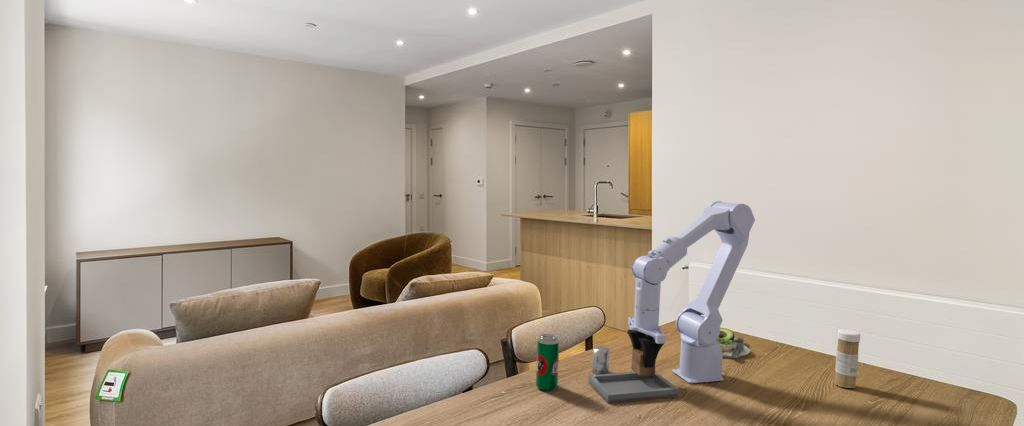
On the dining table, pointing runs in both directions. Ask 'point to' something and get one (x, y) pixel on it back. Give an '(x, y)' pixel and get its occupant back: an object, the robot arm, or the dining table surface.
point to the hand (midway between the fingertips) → (644, 363)
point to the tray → (631, 387)
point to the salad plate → (731, 344)
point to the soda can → (547, 362)
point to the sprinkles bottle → (847, 358)
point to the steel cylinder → (600, 360)
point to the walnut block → (640, 363)
